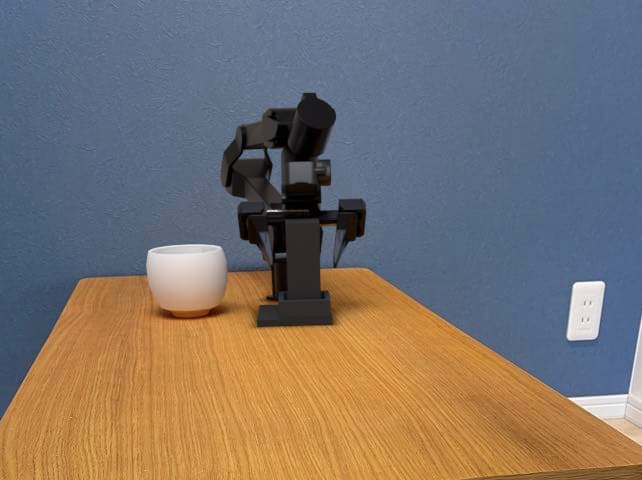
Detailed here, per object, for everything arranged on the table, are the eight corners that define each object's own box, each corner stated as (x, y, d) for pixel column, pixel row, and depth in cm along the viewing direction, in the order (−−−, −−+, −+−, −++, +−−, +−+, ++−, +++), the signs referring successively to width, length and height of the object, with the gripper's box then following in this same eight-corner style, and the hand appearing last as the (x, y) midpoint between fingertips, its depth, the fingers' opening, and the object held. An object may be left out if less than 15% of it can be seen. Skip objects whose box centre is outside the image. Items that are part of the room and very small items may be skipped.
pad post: (288, 309, 130) (285, 219, 124) (319, 308, 130) (318, 218, 124) (288, 316, 126) (285, 222, 120) (321, 315, 126) (319, 221, 120)
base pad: (259, 311, 134) (258, 288, 133) (329, 309, 134) (329, 286, 133) (257, 326, 124) (256, 302, 123) (332, 324, 125) (332, 300, 123)
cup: (136, 320, 131) (128, 254, 126) (174, 304, 141) (168, 242, 137) (208, 324, 127) (203, 256, 122) (242, 307, 137) (239, 244, 133)
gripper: (233, 140, 121) (234, 232, 116) (365, 137, 121) (371, 228, 116) (240, 195, 131) (240, 282, 126) (361, 192, 131) (366, 278, 126)
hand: (303, 267), depth 123 cm, fingers open, 9 cm apart
